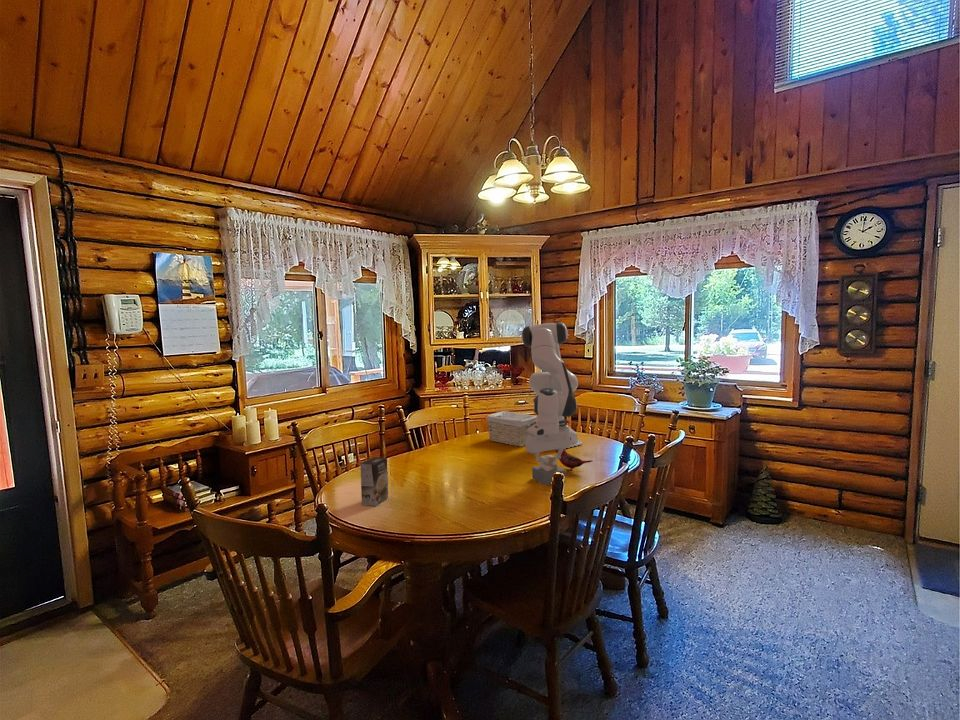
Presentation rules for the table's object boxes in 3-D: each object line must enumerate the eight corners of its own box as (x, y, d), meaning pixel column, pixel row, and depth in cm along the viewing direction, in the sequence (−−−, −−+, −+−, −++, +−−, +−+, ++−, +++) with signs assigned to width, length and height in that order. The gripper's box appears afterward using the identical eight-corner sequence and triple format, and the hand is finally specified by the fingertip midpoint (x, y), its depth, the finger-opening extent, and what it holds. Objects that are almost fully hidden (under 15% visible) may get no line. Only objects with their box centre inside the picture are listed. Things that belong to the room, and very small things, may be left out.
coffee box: (375, 506, 189) (374, 464, 187) (361, 504, 191) (359, 463, 190) (389, 498, 197) (387, 457, 196) (374, 496, 200) (373, 456, 198)
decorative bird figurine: (556, 468, 230) (556, 446, 229) (594, 473, 221) (594, 451, 220) (553, 469, 228) (553, 448, 227) (592, 475, 219) (592, 453, 218)
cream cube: (550, 466, 217) (550, 454, 217) (557, 469, 213) (556, 457, 212) (540, 467, 215) (540, 456, 214) (546, 471, 210) (546, 459, 210)
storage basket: (539, 442, 276) (538, 415, 275) (521, 448, 264) (521, 420, 263) (503, 435, 292) (503, 410, 290) (486, 441, 279) (485, 415, 278)
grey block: (552, 475, 221) (552, 463, 220) (565, 481, 212) (565, 470, 211) (532, 478, 217) (532, 467, 216) (545, 485, 208) (544, 473, 207)
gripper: (564, 423, 219) (564, 454, 221) (523, 429, 211) (524, 461, 212) (573, 426, 214) (573, 458, 215) (531, 432, 205) (531, 465, 206)
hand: (548, 460), depth 213 cm, fingers open, 8 cm apart
